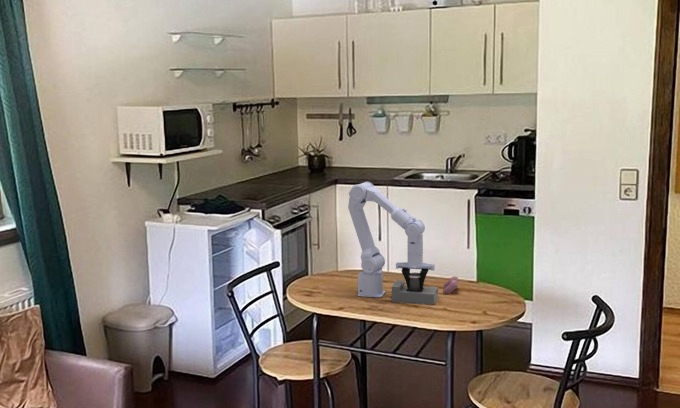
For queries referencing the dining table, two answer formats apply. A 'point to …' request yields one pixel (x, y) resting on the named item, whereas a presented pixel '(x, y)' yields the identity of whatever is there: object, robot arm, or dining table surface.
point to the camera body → (413, 294)
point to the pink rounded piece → (450, 285)
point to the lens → (414, 282)
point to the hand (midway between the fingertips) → (415, 287)
